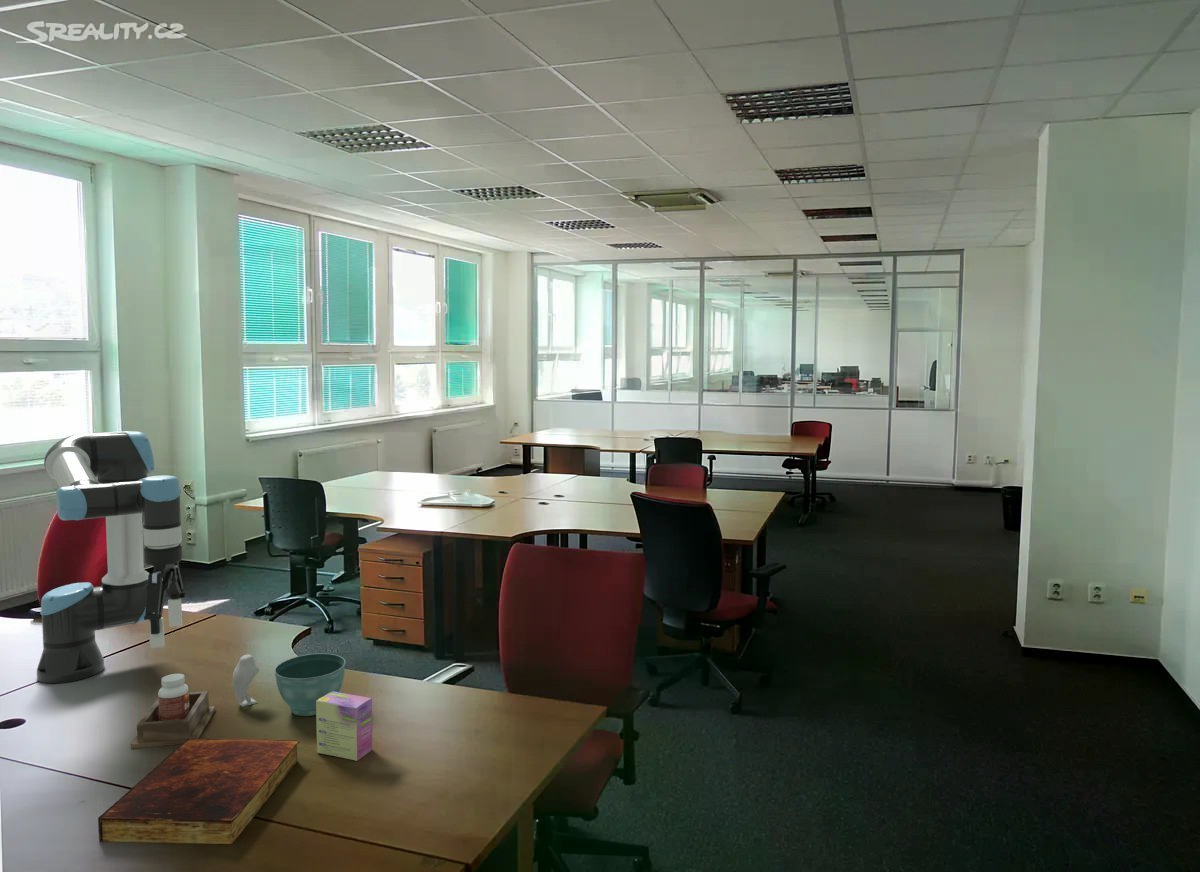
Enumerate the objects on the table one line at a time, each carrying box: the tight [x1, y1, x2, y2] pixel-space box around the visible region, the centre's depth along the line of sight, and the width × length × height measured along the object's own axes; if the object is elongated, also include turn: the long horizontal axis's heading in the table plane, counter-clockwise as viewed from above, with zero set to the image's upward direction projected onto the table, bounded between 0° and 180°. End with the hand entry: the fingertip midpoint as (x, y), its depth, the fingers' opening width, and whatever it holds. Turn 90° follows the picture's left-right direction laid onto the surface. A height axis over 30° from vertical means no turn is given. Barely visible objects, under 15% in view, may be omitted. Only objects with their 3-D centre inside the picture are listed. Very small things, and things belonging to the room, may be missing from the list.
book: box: [97, 738, 300, 845], centre depth 155 cm, size 30×24×5 cm
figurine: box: [232, 654, 260, 708], centre depth 197 cm, size 8×5×12 cm
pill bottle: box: [157, 673, 190, 721], centre depth 183 cm, size 6×6×11 cm
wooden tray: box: [130, 690, 216, 749], centre depth 184 cm, size 17×13×5 cm
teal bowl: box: [273, 652, 347, 717], centre depth 194 cm, size 16×16×11 cm
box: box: [315, 691, 373, 762], centre depth 173 cm, size 10×6×12 cm, turn 71°
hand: (166, 636), depth 183 cm, fingers open, 13 cm apart
